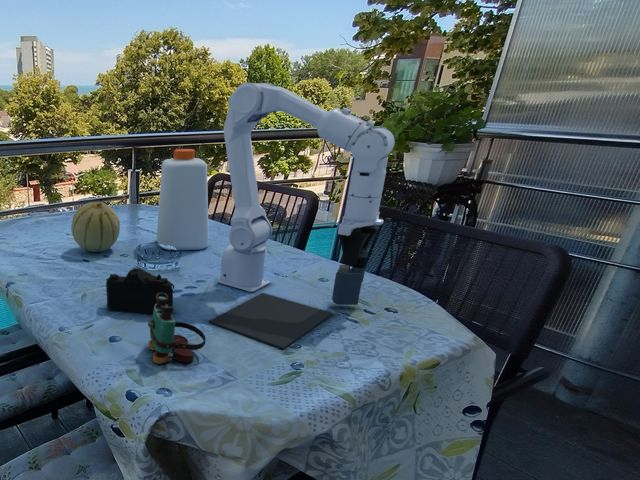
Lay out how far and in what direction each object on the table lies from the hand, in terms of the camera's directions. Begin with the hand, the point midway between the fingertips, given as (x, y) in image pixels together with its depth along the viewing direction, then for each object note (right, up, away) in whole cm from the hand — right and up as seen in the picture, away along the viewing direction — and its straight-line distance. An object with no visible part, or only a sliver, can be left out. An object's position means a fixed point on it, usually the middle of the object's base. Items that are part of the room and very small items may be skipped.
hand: (352, 262), depth 94 cm
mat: (-16, -11, 0) cm, 20 cm away
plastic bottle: (-27, +9, +50) cm, 58 cm away
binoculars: (-37, -17, -11) cm, 43 cm away
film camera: (-42, -9, +8) cm, 44 cm away
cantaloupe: (-53, +7, +47) cm, 71 cm away
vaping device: (0, -8, +3) cm, 9 cm away
